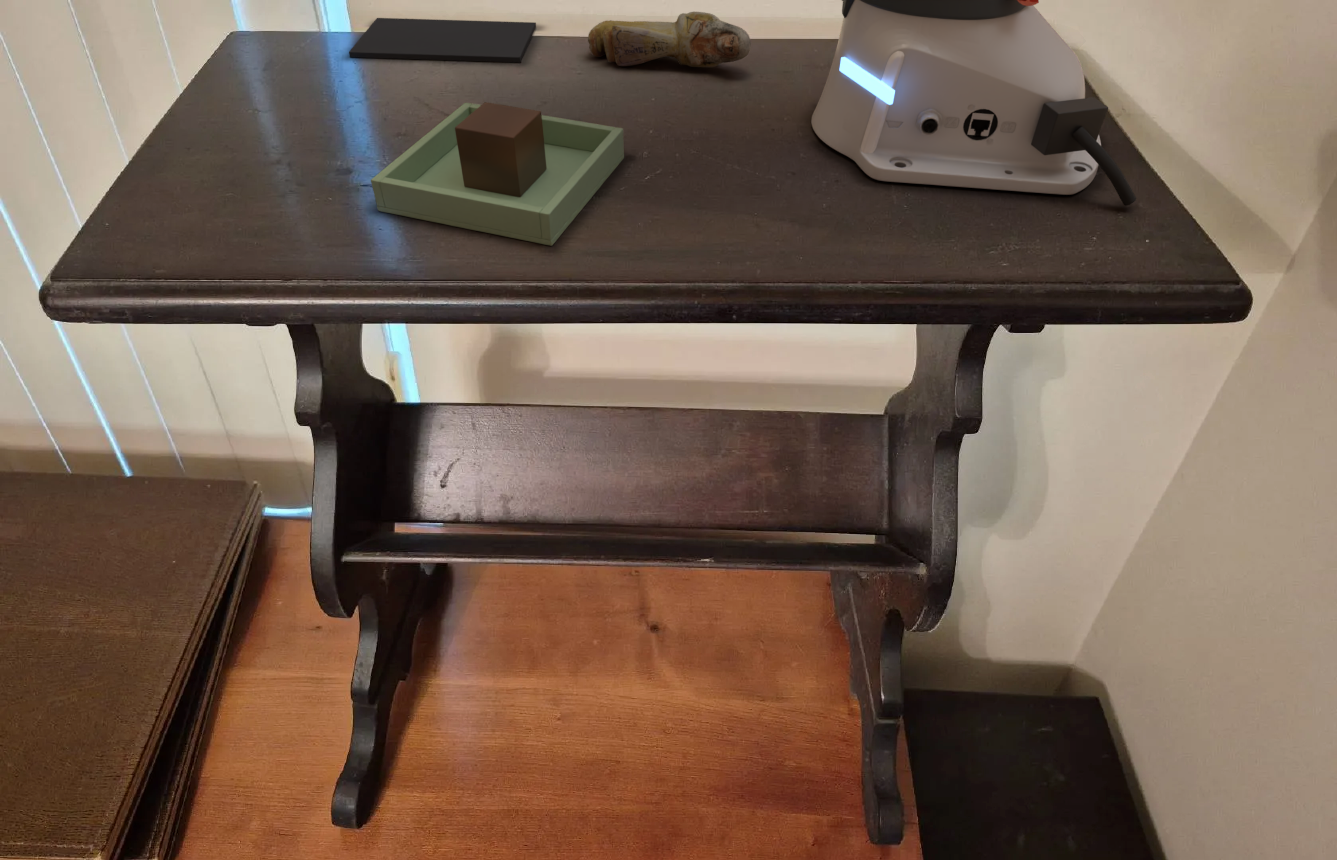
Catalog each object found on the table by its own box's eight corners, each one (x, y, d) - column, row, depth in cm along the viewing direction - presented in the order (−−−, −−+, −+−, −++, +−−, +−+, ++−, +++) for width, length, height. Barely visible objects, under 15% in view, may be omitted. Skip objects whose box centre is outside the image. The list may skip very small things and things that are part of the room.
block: (547, 169, 65) (541, 110, 62) (520, 197, 62) (513, 137, 59) (492, 159, 66) (484, 101, 63) (464, 187, 63) (454, 127, 60)
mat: (536, 27, 88) (535, 22, 87) (520, 62, 81) (519, 57, 81) (378, 22, 88) (376, 17, 88) (349, 57, 82) (348, 51, 81)
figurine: (576, 40, 79) (734, 40, 74) (595, -4, 81) (750, -7, 75) (596, 83, 83) (746, 86, 78) (613, 41, 85) (761, 41, 80)
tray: (624, 157, 68) (623, 127, 66) (551, 246, 59) (549, 214, 57) (469, 130, 71) (465, 101, 69) (377, 210, 62) (369, 179, 60)
